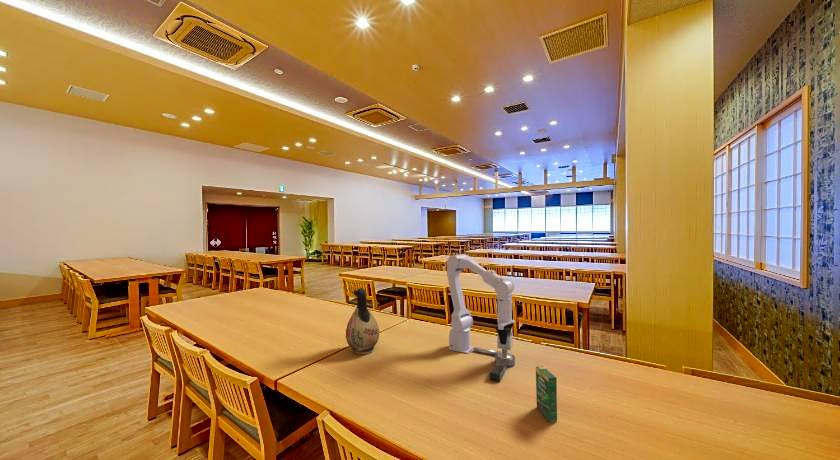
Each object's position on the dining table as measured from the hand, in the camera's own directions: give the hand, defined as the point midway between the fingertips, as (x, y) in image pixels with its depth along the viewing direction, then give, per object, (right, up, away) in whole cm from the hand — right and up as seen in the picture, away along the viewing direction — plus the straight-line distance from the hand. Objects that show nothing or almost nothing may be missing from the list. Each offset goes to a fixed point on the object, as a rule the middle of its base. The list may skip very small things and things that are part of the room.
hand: (504, 341), depth 128 cm
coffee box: (+3, -10, -34) cm, 36 cm away
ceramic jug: (-62, -10, +14) cm, 64 cm away
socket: (0, -2, 0) cm, 2 cm away
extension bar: (-6, -9, +10) cm, 15 cm away
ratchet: (-3, -9, -5) cm, 11 cm away
